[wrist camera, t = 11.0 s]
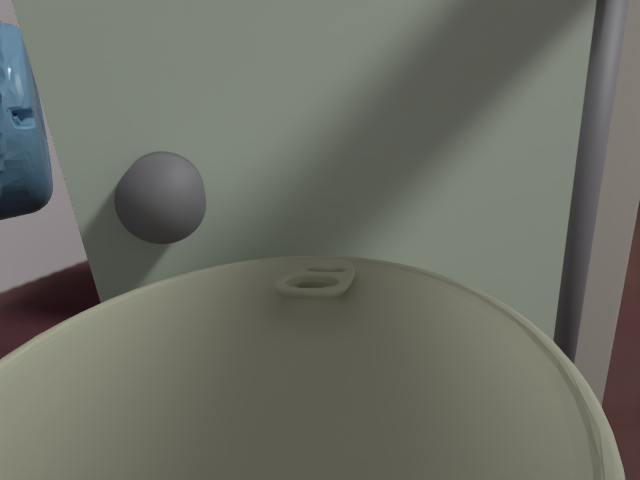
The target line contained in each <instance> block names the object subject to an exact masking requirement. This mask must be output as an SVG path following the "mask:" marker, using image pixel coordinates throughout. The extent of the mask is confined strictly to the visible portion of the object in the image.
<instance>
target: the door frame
mask: <svg viewBox="0 0 640 480" xmlns="http://www.w3.org/2000/svg"><path fill="white" fill-rule="evenodd" d="M639 200H640V0H629V4H628V11H627V17H626V24H625V30H624V37H623V44H622V50H621V57H620V64H619V70H618V77H617V84H616V90H615V97H614V104H613V110H612V117H611V123H610V130H609V137H608V143H607V150H606V157H605V163H604V170H603V177H602V183H601V190H600V196H599V203H598V210H597V216H596V223H595V230H594V236H593V243H592V250H591V256H590V263H589V269H588V276H587V283H586V289H585V296H584V303H583V309H582V316H581V323H580V329H579V336H578V342H577V349H576V356H575V362H574V365H575V366H576V368H577V369H578V370H579V372H580V373H581V375H582V376H583V377H584V379H585V380H586V382H587V383H588V384H589V386H590V388H591V389H592V391H593V393H594V394H595V396H596V398H597V400H598V401H599V403H600V405H602V400H603V395H604V389H605V384H606V378H607V373H608V368H609V362H610V357H611V351H612V346H613V340H614V335H615V330H616V324H617V319H618V313H619V308H620V303H621V297H622V292H623V286H624V281H625V275H626V270H627V265H628V259H629V254H630V248H631V243H632V238H633V232H634V227H635V221H636V216H637V211H638V205H639Z"/></svg>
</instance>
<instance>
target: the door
mask: <svg viewBox="0 0 640 480" xmlns="http://www.w3.org/2000/svg"><path fill="white" fill-rule="evenodd" d="M12 3H13V7H14V10H15V13H16V17H17V20H18V24H19V27H20V30H21V34H22V37H23V41H24V44H25V47H26V51H27V54H28V58H29V61H30V64H31V68H32V71H33V75H34V78H35V81H36V85H37V88H38V92H39V95H40V98H41V101H42V105H43V108H44V112H45V115H46V119H47V122H48V125H49V129H50V132H51V136H52V139H53V143H54V146H55V149H56V153H57V156H58V160H59V163H60V166H61V170H62V173H63V177H64V180H65V183H66V187H67V190H68V194H69V197H70V200H71V204H72V207H73V211H74V214H75V218H76V221H77V224H78V228H79V231H80V234H81V238H82V241H83V245H84V248H85V251H86V255H87V258H88V262H89V265H90V269H91V272H92V275H93V279H94V282H95V286H96V289H97V292H98V296H99V299H100V303H102V302H105V301H107V300H109V299H112V298H114V297H117V296H119V295H122V294H124V293H127V292H130V291H132V290H135V289H137V288H140V287H143V286H146V285H149V284H152V283H155V282H158V281H161V280H164V279H167V278H170V277H174V276H178V275H181V274H185V273H189V272H192V271H196V270H201V269H205V268H210V267H214V266H219V265H224V264H230V263H236V262H241V261H248V260H256V259H264V258H273V257H287V256H318V255H325V256H347V257H360V258H368V259H376V260H383V261H388V262H394V263H400V264H404V265H409V266H413V267H417V268H421V269H424V270H428V271H431V272H434V273H438V274H441V275H444V276H447V277H449V278H452V279H455V280H457V281H460V282H462V283H464V284H467V285H469V286H471V287H474V288H476V289H478V290H481V291H482V292H484V293H486V294H488V295H490V296H492V297H493V298H495V299H497V300H499V301H501V302H503V303H504V304H506V305H508V306H509V307H510V308H512V309H513V310H515V311H516V312H518V313H519V314H521V315H522V316H523V317H525V318H526V319H528V320H529V321H530V322H532V323H533V324H534V325H535V326H536V327H537V328H539V329H540V330H541V331H542V332H543V333H544V334H546V335H547V336H548V337H549V338H550V339H551V340H553V341H554V343H555V344H556V345H557V346H558V347H559V348H560V349H561V350H562V352H563V353H564V354H565V355H566V356H567V357H568V358H569V359H570V361H571V362H572V363H573V364H574V362H575V356H576V349H577V342H578V336H579V329H580V323H581V316H582V309H583V303H584V296H585V289H586V283H587V276H588V269H589V263H590V256H591V250H592V243H593V236H594V230H595V223H596V216H597V210H598V203H599V196H600V190H601V183H602V177H603V170H604V163H605V157H606V150H607V143H608V137H609V130H610V123H611V117H612V110H613V104H614V97H615V90H616V84H617V77H618V70H619V64H620V57H621V50H622V44H623V37H624V30H625V24H626V17H627V11H628V4H629V0H12Z"/></svg>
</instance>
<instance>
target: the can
mask: <svg viewBox="0 0 640 480" xmlns="http://www.w3.org/2000/svg"><path fill="white" fill-rule="evenodd" d="M0 480H625V475H624V469H623V466H622V462H621V459H620V455H619V452H618V449H617V445H616V442H615V438H614V435H613V432H612V430H611V427H610V425H609V423H608V421H607V418H606V416H605V414H604V412H603V410H602V407H601V405H600V403H599V401H598V400H597V398H596V396H595V394H594V393H593V391H592V389H591V388H590V386H589V384H588V383H587V382H586V380H585V379H584V377H583V376H582V375H581V373H580V372H579V370H578V369H577V368H576V366H575V365H574V364H573V363H572V362H571V361H570V359H569V358H568V357H567V356H566V355H565V354H564V353H563V352H562V350H561V349H560V348H559V347H558V346H557V345H556V344H555V343H554V341H553V340H551V339H550V338H549V337H548V336H547V335H546V334H544V333H543V332H542V331H541V330H540V329H539V328H537V327H536V326H535V325H534V324H533V323H532V322H530V321H529V320H528V319H526V318H525V317H523V316H522V315H521V314H519V313H518V312H516V311H515V310H513V309H512V308H510V307H509V306H508V305H506V304H504V303H503V302H501V301H499V300H497V299H495V298H493V297H492V296H490V295H488V294H486V293H484V292H482V291H481V290H478V289H476V288H474V287H471V286H469V285H467V284H464V283H462V282H460V281H457V280H455V279H452V278H449V277H447V276H444V275H441V274H438V273H434V272H431V271H428V270H424V269H421V268H417V267H413V266H409V265H404V264H400V263H394V262H388V261H383V260H376V259H368V258H360V257H347V256H325V255H318V256H287V257H273V258H264V259H256V260H248V261H241V262H236V263H230V264H224V265H219V266H214V267H210V268H205V269H201V270H196V271H192V272H189V273H185V274H181V275H178V276H174V277H170V278H167V279H164V280H161V281H158V282H155V283H152V284H149V285H146V286H143V287H140V288H137V289H135V290H132V291H130V292H127V293H124V294H122V295H119V296H117V297H114V298H112V299H109V300H107V301H105V302H102V303H100V304H98V305H96V306H94V307H92V308H90V309H87V310H85V311H83V312H81V313H79V314H77V315H75V316H73V317H71V318H69V319H67V320H65V321H63V322H61V323H59V324H57V325H56V326H54V327H52V328H50V329H48V330H46V331H45V332H43V333H41V334H39V335H37V336H36V337H34V338H33V339H31V340H30V341H28V342H26V343H25V344H23V345H22V346H20V347H19V348H17V349H16V350H14V351H12V352H11V353H9V354H8V355H6V356H5V357H3V358H2V359H0Z"/></svg>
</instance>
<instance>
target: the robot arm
mask: <svg viewBox="0 0 640 480" xmlns="http://www.w3.org/2000/svg"><path fill="white" fill-rule="evenodd" d="M52 191H53V183H52V171H51V163H50V156H49V149H48V143H47V137H46V131H45V125H44V119H43V114H42V108H41V104H40V98H39V93H38V88H37V85H36V81H35V78H34V75H33V71H32V68H31V64H30V61H29V58H28V54H27V51H26V47H25V44H24V41H23V37H22V34H21V30H20V29H19V28H18V27H17V26H15V25H12V24H7V23H2V22H1V21H0V220H3V219H8V218H12V217H16V216H21V215H26V214H30V213H34V212H36V211H38V210H40V209H41V208H43V207H44V206H45V205H46V204H47V203H48V201H49V200H50V198H51V195H52Z"/></svg>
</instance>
